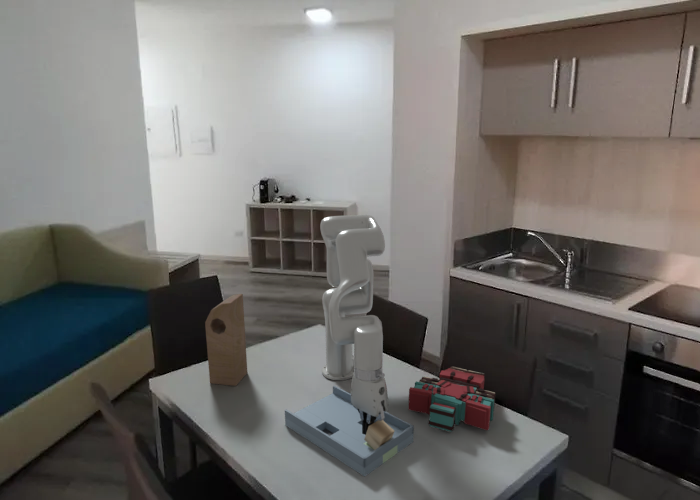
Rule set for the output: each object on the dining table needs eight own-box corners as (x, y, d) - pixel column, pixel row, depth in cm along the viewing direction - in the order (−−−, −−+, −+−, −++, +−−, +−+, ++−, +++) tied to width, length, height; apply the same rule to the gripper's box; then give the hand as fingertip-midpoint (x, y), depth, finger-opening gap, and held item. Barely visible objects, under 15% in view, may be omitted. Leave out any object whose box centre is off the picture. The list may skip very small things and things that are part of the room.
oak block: (376, 431, 136) (381, 418, 133) (389, 444, 133) (394, 430, 131) (364, 439, 132) (368, 426, 130) (377, 452, 129) (382, 439, 127)
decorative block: (236, 386, 168) (230, 303, 161) (209, 383, 170) (203, 301, 163) (247, 372, 178) (243, 293, 171) (222, 370, 180) (216, 292, 173)
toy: (431, 383, 172) (399, 424, 146) (433, 358, 170) (401, 395, 144) (503, 399, 161) (482, 447, 135) (505, 373, 159) (485, 416, 133)
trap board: (334, 399, 160) (334, 385, 158) (413, 441, 138) (413, 425, 137) (285, 425, 146) (284, 410, 145) (364, 476, 124) (364, 459, 123)
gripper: (399, 375, 128) (398, 438, 132) (357, 358, 138) (358, 416, 143) (380, 385, 123) (379, 450, 127) (338, 366, 133) (339, 427, 137)
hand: (368, 432), depth 135 cm, fingers closed
